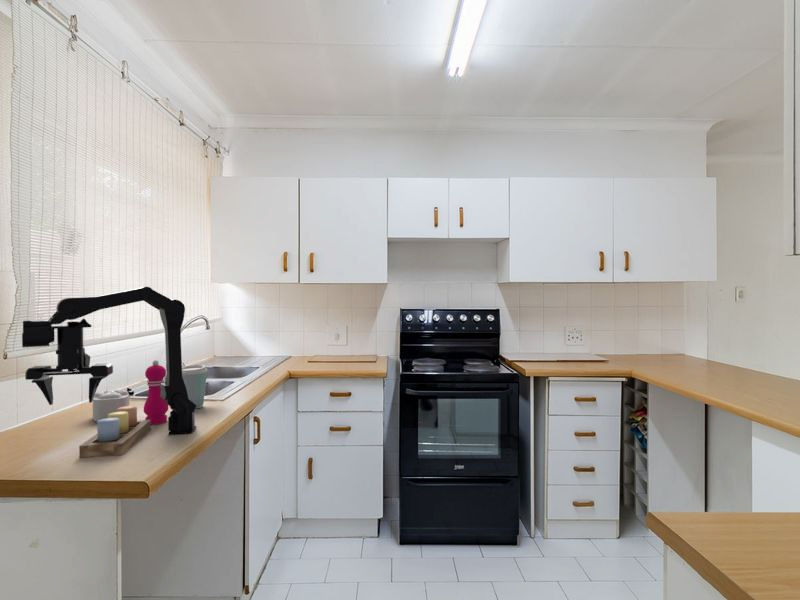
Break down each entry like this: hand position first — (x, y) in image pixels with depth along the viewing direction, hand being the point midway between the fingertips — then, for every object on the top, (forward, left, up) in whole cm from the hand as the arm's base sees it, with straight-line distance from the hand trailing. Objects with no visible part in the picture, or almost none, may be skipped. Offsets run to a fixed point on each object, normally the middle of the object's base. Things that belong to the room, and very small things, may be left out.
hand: (71, 403), depth 131 cm
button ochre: (-10, -5, -9) cm, 14 cm away
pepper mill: (-14, -26, -13) cm, 32 cm away
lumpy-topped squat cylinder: (+3, -37, -13) cm, 39 cm away
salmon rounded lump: (-10, -12, -9) cm, 18 cm away
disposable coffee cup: (-21, -45, -13) cm, 51 cm away
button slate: (-10, +2, -9) cm, 14 cm away
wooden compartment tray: (-10, -5, -12) cm, 16 cm away
